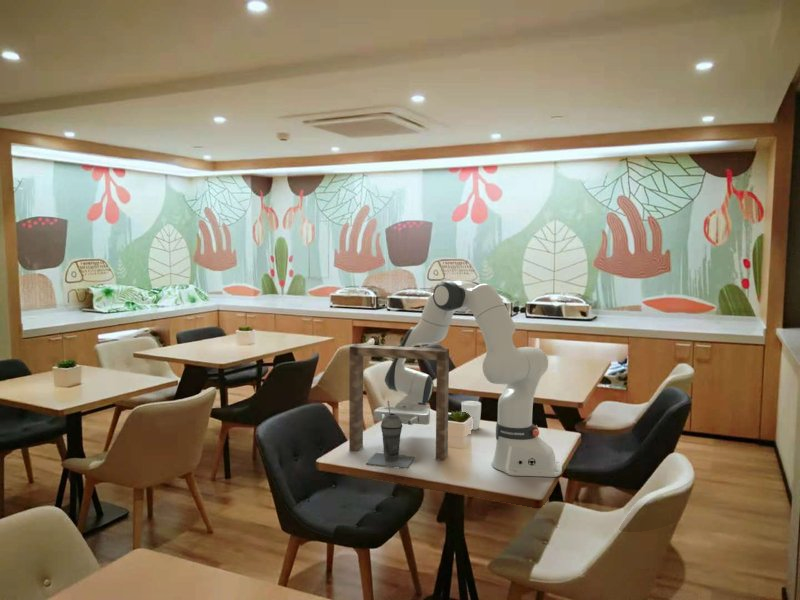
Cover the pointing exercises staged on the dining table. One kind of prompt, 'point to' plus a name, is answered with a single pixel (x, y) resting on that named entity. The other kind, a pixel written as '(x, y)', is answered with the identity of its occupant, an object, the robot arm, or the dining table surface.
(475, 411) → the white cup
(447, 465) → the dining table surface
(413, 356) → the walnut archway
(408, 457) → the slate mat
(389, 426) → the beverage cup
